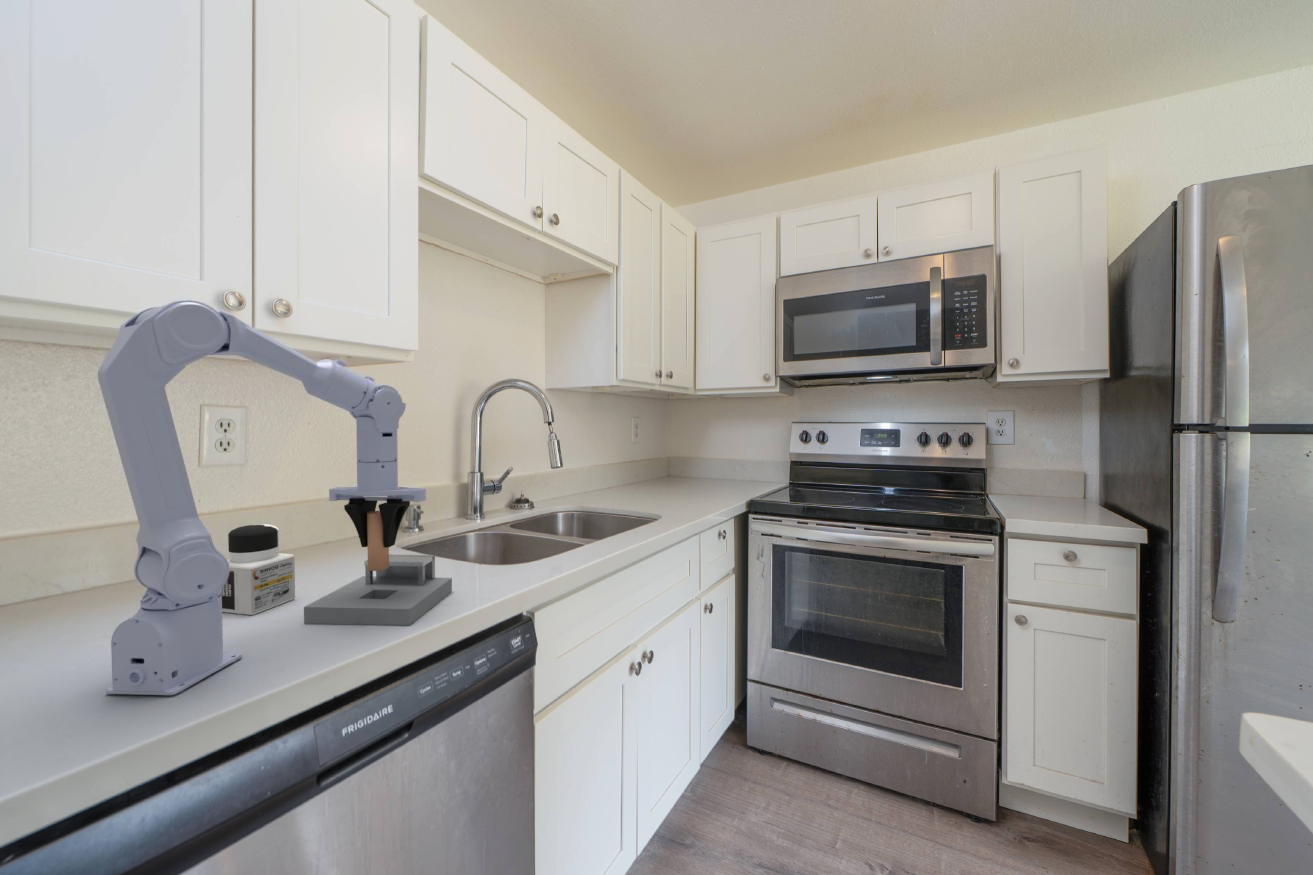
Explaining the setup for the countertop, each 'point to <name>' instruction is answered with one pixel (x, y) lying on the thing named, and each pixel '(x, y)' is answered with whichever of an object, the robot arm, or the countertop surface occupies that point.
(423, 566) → the grey bridge
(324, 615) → the socket board
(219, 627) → the robot arm
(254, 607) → the container
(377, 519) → the peg
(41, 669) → the countertop surface
